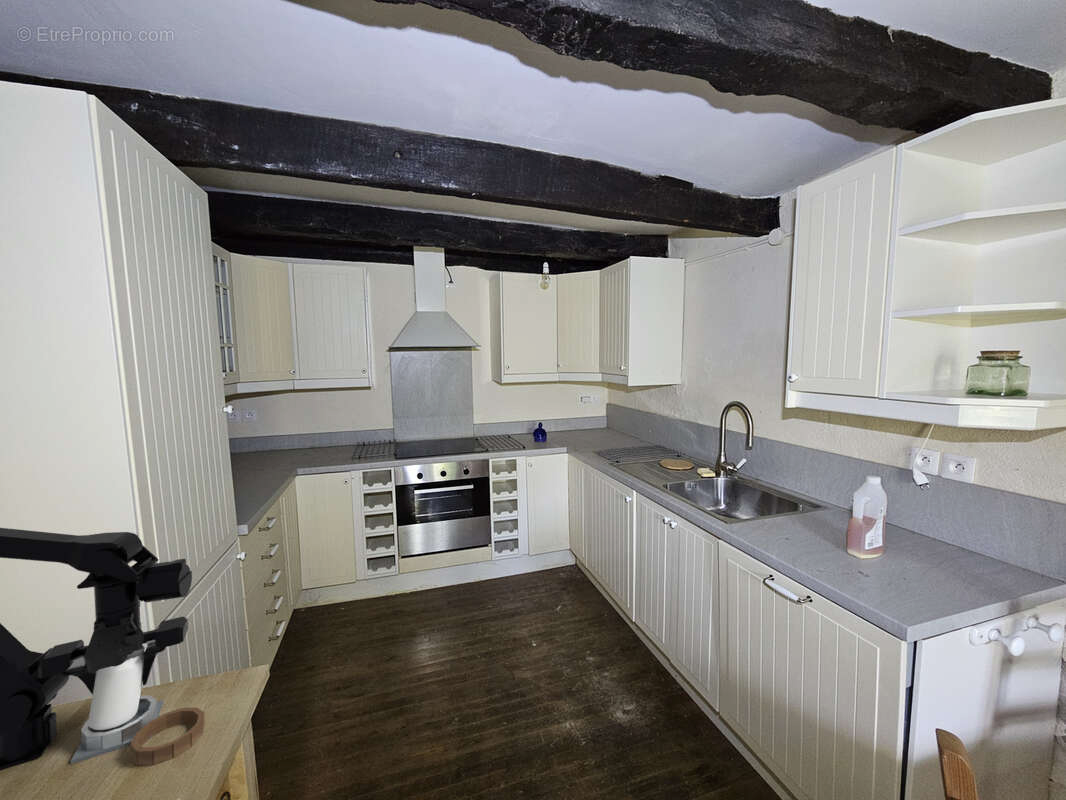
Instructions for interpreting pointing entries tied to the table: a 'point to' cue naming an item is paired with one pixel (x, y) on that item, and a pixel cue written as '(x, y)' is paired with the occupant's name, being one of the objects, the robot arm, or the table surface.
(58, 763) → the table surface
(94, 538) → the robot arm
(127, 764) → the table surface
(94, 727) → the can
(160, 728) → the brown segmented ring
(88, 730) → the dock
